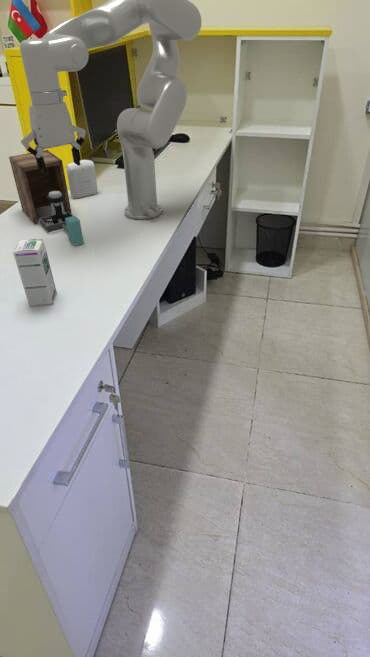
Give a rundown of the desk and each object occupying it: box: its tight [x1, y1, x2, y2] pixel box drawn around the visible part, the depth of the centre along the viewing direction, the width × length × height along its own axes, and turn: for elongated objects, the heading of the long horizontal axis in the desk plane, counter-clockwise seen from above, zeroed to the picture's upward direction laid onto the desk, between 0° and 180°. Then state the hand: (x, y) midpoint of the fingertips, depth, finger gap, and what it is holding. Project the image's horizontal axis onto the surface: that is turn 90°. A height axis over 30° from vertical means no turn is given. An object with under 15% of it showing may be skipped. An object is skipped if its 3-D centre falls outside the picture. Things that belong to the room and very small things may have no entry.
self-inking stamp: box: [47, 191, 68, 225], centre depth 141 cm, size 7×5×10 cm
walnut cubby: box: [8, 149, 73, 226], centre depth 146 cm, size 14×13×18 cm
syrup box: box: [12, 238, 57, 306], centre depth 104 cm, size 6×6×14 cm
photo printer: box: [65, 159, 99, 200], centre depth 160 cm, size 10×4×12 cm, turn 123°
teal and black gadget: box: [38, 211, 85, 246], centre depth 136 cm, size 21×10×7 cm, turn 32°
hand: (60, 167), depth 121 cm, fingers open, 9 cm apart
